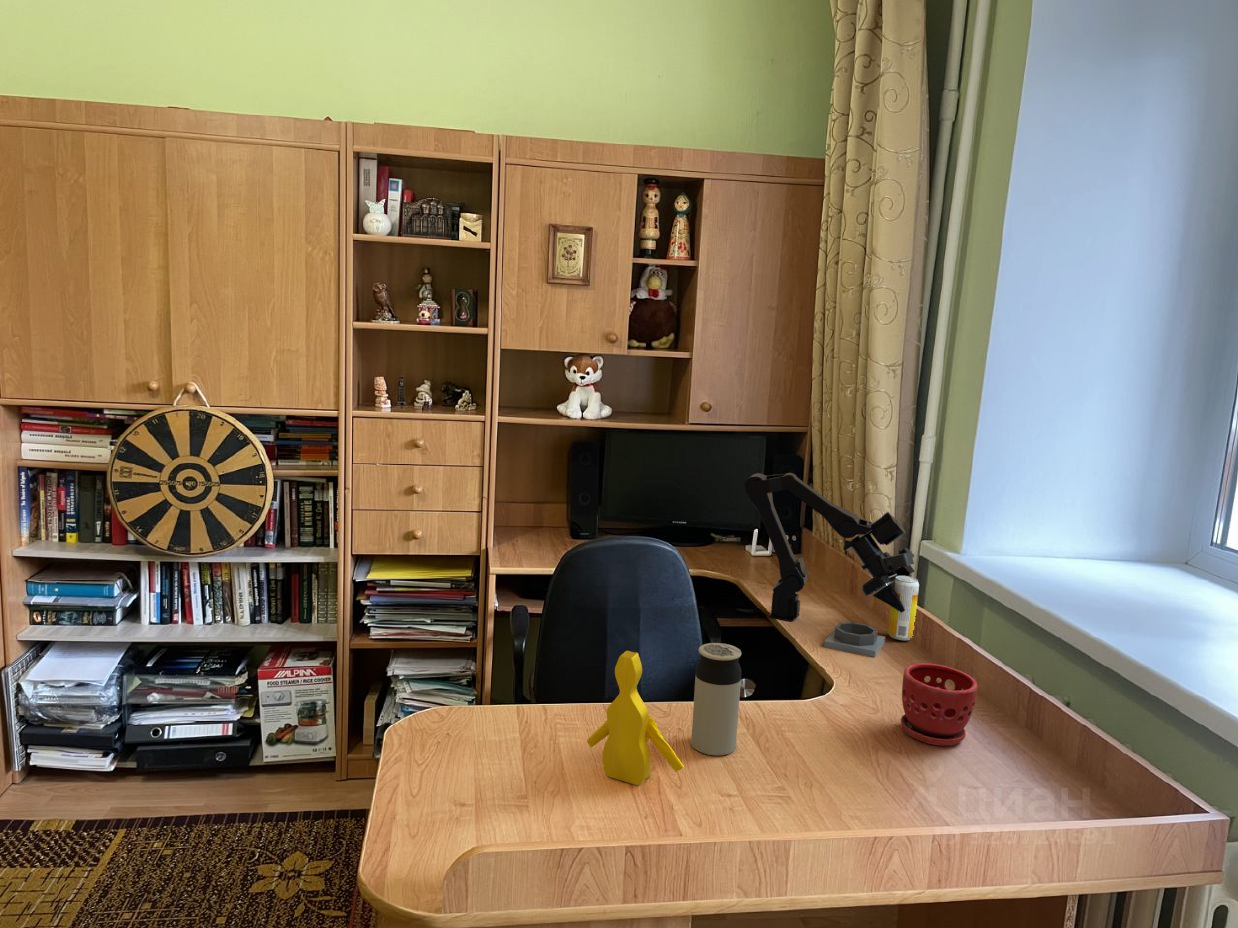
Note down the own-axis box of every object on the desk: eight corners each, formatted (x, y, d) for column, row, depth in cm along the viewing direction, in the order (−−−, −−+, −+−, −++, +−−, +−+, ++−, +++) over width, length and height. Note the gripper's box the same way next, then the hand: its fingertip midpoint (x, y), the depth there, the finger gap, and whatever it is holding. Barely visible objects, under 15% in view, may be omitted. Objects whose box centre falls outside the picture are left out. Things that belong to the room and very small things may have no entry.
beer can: (909, 633, 222) (916, 576, 219) (915, 642, 216) (922, 583, 213) (885, 631, 222) (891, 574, 220) (890, 639, 216) (896, 581, 214)
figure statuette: (687, 781, 144) (695, 653, 141) (668, 803, 137) (676, 668, 134) (592, 753, 152) (598, 631, 149) (569, 772, 145) (575, 645, 142)
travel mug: (706, 760, 152) (713, 660, 149) (682, 740, 158) (688, 645, 156) (744, 752, 155) (751, 654, 153) (719, 733, 162) (725, 639, 159)
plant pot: (896, 743, 162) (902, 681, 160) (899, 715, 174) (905, 657, 172) (972, 758, 157) (979, 694, 155) (970, 728, 169) (976, 669, 168)
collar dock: (824, 646, 211) (825, 630, 210) (836, 632, 221) (837, 617, 221) (875, 657, 205) (876, 640, 205) (884, 642, 216) (886, 626, 215)
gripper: (879, 544, 211) (918, 599, 205) (910, 533, 225) (948, 585, 219) (845, 568, 217) (883, 623, 212) (878, 556, 231) (914, 607, 226)
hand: (908, 608), depth 217 cm, fingers closed on beer can, 6 cm apart
